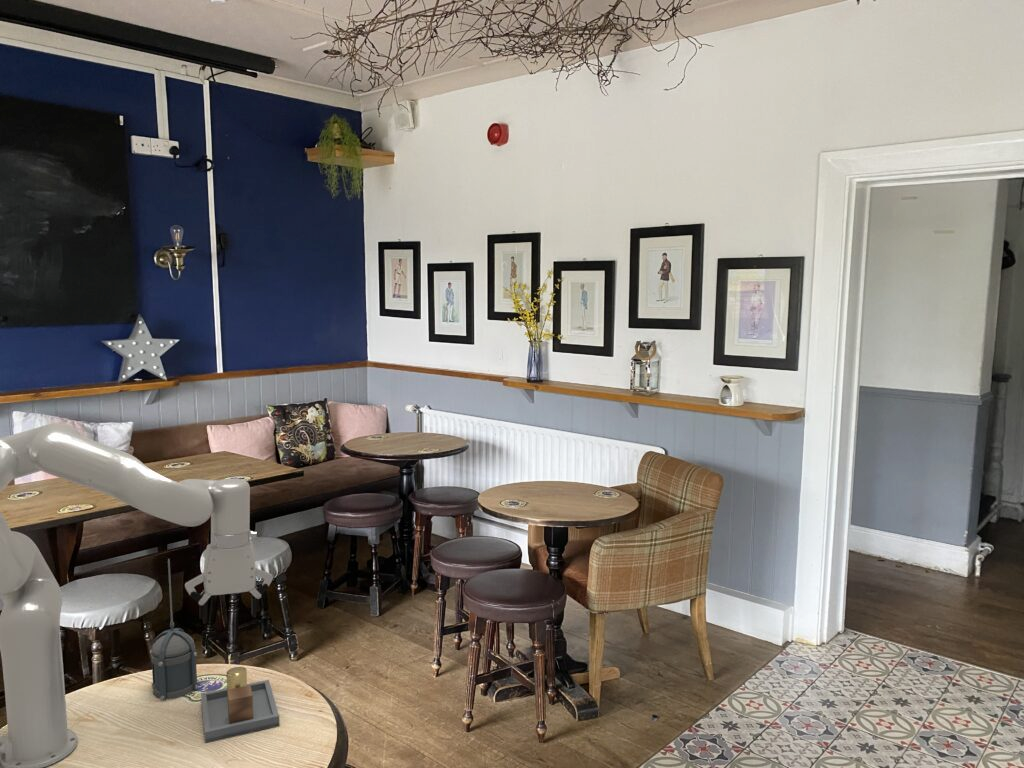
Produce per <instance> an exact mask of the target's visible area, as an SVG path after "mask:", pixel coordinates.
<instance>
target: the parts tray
mask: <svg viewBox="0 0 1024 768" xmlns="http://www.w3.org/2000/svg"><path fill="white" fill-rule="evenodd" d="M249 685H251V691H252V696H253V719H251V720H246V721H242V722H237V723H233V724H229V716H228V698H227V687H226V688H221V689H217V690H212V691H207V692H202V693H200V701H201V702H200V703H201V704H200V705H201V710H202V711H201V712H202V723H203V731H204V743H205V744H206V743H210V742H217V741H220V740H224V739H230V738H232V737H233V738H234V737H237V736H243V735H246V734H251V733H254V732H255V733H256V732H260V731H264V730H269V729H271V728H272V729H273V728H276V727H280V715H279V712H278V711H279V710H278V708H277V704H276V701H275V698H274V694H273V693H274V692H273V691H272V686H271V683H270V680H269V679H265V680H261V681H256V682H250V683H247V686H249Z"/></svg>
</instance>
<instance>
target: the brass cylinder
mask: <svg viewBox="0 0 1024 768" xmlns="http://www.w3.org/2000/svg"><path fill="white" fill-rule="evenodd" d="M247 676H248V671H247V668H246V667H243V666H234V667H231V668H229V669H228V670H226V686H227V687H226V688H227V690H228V689H233V688H238V687H243V686H247V684H248V677H247ZM227 698H228V692H227Z"/></svg>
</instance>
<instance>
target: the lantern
mask: <svg viewBox="0 0 1024 768" xmlns="http://www.w3.org/2000/svg"><path fill="white" fill-rule="evenodd" d="M167 564H168V565H167V568H168V570H167V572H168V584H169V586H168V588H169V589H168V590H169V591H168V592H169V604H170V605H169V608H170V622H169V623H170V624H169V627H170V629H167V630H164V631H162V632H161V633H159V634H158V635H157V636H156V637H155V639H154V640H153V641H152V644H151V649H150V650H149V654H150V657H151V659H150V661H151V671H152V672H151V674H152V675H151V676H152V683H151V687H152V695H153V696H154V697H155V698H157V699H160V701H167V700H173V699H178V698H183V697H185V696H186V695H189V694H191V693H193V692H195V691H197V690H198V689H199V687H200V685H199V684H198V674H197V673H198V672H197V671H198V670H197V656H198V652H197V651H196V644H195V641H194V640H195V639H193V637H192V636H191V635H189V634H188V633H186V632H185V631H184V629H182V628H181V627H175V623H174V621H173V620H174V617H173V615H174V614H173V600H172V585H171V584H172V582H171V580H172V579H171V562H170V558H168V559H167Z"/></svg>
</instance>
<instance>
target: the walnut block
mask: <svg viewBox="0 0 1024 768" xmlns="http://www.w3.org/2000/svg"><path fill="white" fill-rule="evenodd" d="M227 692H228V716H229V724H233V723H237V722H242V721H246V720H251V719H253V696H252V691H251V685H249V686H243V687H238V688H233V689H228V690H227Z"/></svg>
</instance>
